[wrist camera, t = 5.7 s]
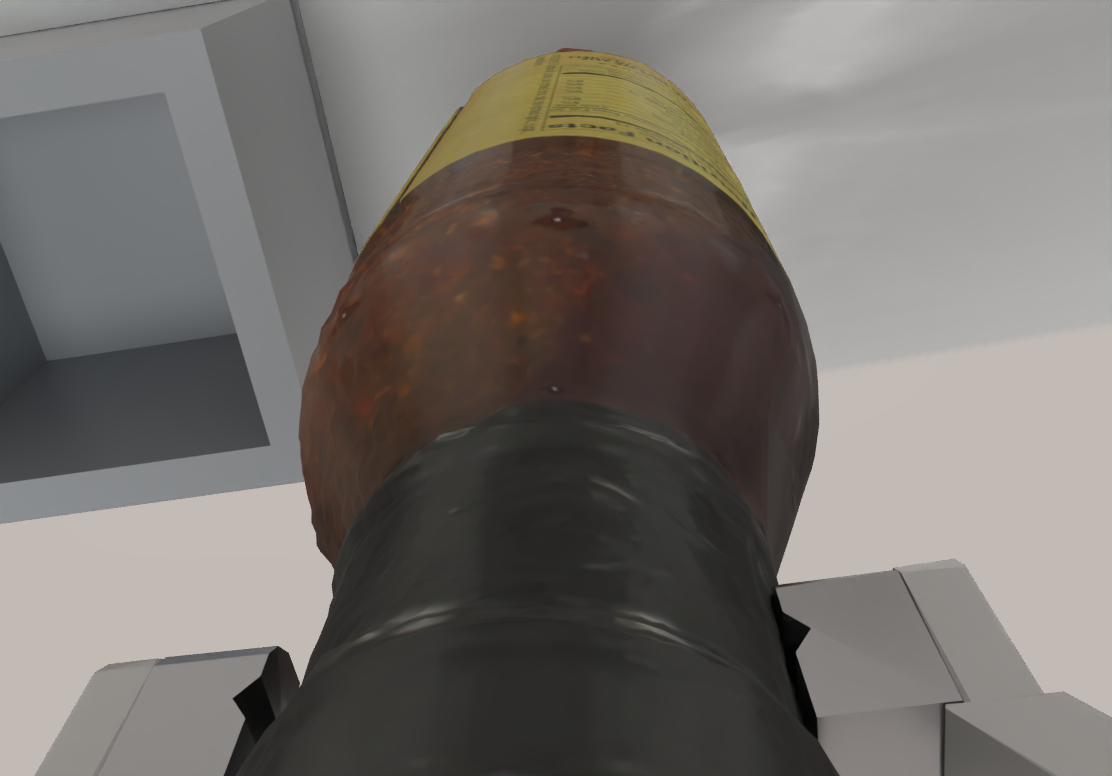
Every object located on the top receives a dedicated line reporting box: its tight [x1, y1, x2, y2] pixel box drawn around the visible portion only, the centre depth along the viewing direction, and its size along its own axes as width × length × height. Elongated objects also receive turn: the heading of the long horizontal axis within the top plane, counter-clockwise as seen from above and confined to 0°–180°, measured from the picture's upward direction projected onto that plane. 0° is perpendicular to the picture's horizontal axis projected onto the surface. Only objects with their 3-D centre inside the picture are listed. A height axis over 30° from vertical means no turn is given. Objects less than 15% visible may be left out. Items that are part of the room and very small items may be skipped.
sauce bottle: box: [236, 48, 840, 776], centre depth 15 cm, size 7×6×20 cm
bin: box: [0, 0, 358, 524], centre depth 31 cm, size 12×12×10 cm
